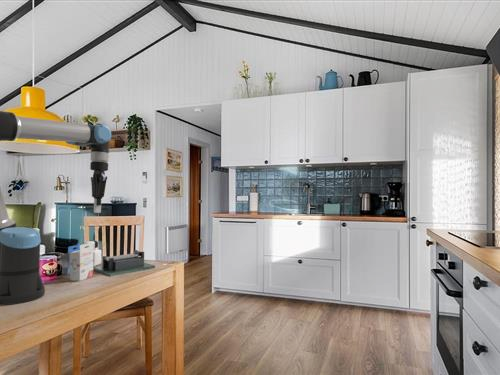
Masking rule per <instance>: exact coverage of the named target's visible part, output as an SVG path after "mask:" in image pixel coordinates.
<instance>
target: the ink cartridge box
mask: <svg viewBox="0 0 500 375" xmlns="http://www.w3.org/2000/svg"><path fill="white" fill-rule="evenodd" d="M86 246H89V247H88V248H85V247H86ZM93 254H94V250H93V243H88V244H85V243H84V244H81V245H80V250H78V251H74V252H70V274H69V281H73V282H74V281H75V282H77V281H78V282H81V281H84V280H86V279H89V278H93V277H94V270H93V267H94V266H93Z"/></svg>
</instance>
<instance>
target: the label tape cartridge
mask: <svg viewBox="0 0 500 375" xmlns="http://www.w3.org/2000/svg"><path fill="white" fill-rule="evenodd" d="M80 245H82V243H80V244H76V245H71V246H68V247H67V252H66V253H64V254H62V255H60V262H61V261H62V274H61V275H70V252H74V251H78V250H80ZM61 258H62V260H61Z"/></svg>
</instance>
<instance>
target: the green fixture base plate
mask: <svg viewBox="0 0 500 375" xmlns="http://www.w3.org/2000/svg"><path fill="white" fill-rule="evenodd" d="M134 251H139V250H137V249H135V250H134ZM134 251H133V252H134ZM140 252H141V256H137V257H130V258H124V259H118V260H114V258H109V261H107V260H105V259H104V258H105V257H108V256H107V255H105V256H102V265H99V266H98V265H96V266H93V271H94V272H97V273H100V274H104V275H107V276H108V277H114V276H119V275H124V274H130V273H136V272H141V270H142V271H147V270H152V268H153V269H155V268H156V265H154V264H150V263H147V262H145V251H140ZM146 269H147V270H146Z"/></svg>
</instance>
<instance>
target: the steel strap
mask: <svg viewBox="0 0 500 375" xmlns="http://www.w3.org/2000/svg"><path fill="white" fill-rule="evenodd" d="M141 252H142V251H140V250H138V251H133V253H126V254H119V255H112V256H107V257H105V258H104V259H105V260H107V261H109V258H114V260H118V259H124V258H130V257H137V256H138V257H141Z"/></svg>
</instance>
